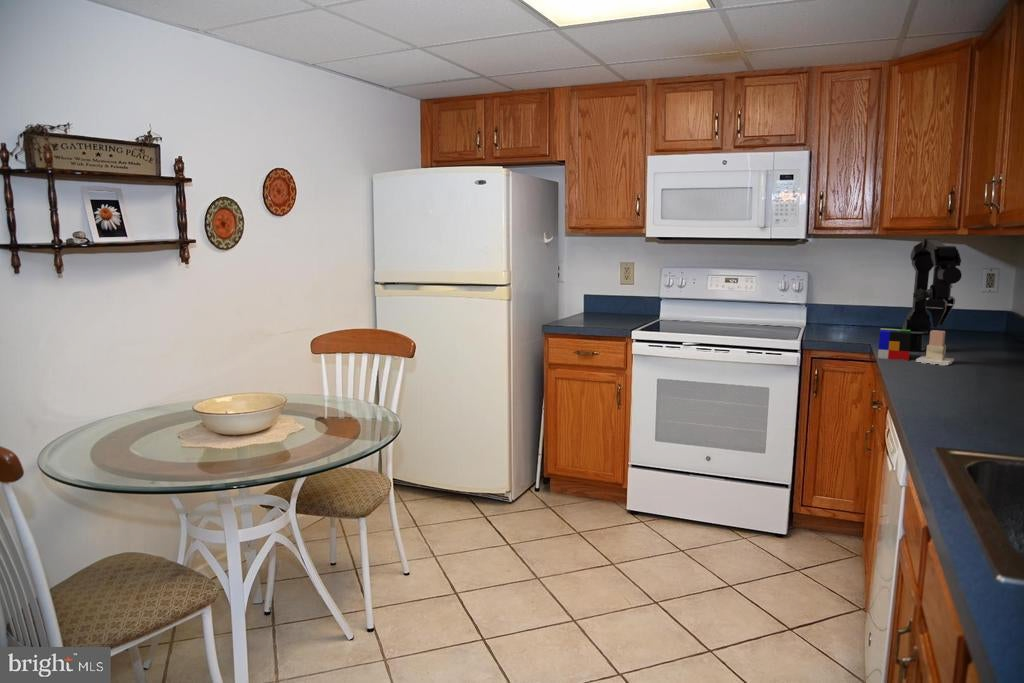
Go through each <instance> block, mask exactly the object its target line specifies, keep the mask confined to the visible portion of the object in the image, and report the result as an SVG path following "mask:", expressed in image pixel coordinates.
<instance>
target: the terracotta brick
mask: <svg viewBox="0 0 1024 683" xmlns="http://www.w3.org/2000/svg"><path fill="white" fill-rule="evenodd" d="M945 340H946V330H937V329H935V330H934V329H932V330H930V333H929V343H928V344H929V345H933V346H943V345H945Z"/></svg>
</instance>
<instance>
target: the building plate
mask: <svg viewBox="0 0 1024 683" xmlns="http://www.w3.org/2000/svg"><path fill="white" fill-rule="evenodd" d="M953 361H954V362H955V358H951V357H945V359H944V360H942V361H940V360H931V359H926V355H921V356H919V357H917V358H916V359H915V363H916V362H921V363H920V364H926V363H930V364H929V365H935V364H939V365H938V366H945V365H949V364H950V365H951V364H953V363H954V362H953ZM952 362H953V363H952ZM950 365H949V366H950Z"/></svg>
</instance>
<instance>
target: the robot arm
mask: <svg viewBox="0 0 1024 683" xmlns="http://www.w3.org/2000/svg"><path fill="white" fill-rule="evenodd" d="M910 261H911V266H912V267H913V269H914V271H915V276H914V287H913V293H912V294H913V296H912V306H911V309H910V311H909V312H908V313H907V314H906V318H905V319H904V322H903V325H902V328H901V330H911V339H910V350H909V352H910V351H911V352H923V351H924V350H925V349H926V348H924V347H923V346H924V336H927V337H928V336H929V337H930V331H931V327H932V326H933V328H938V326H943V325H944V324H945V321H946V320H947V318H948V316H949V314H950V313H951V311H952V309H953V308H954V305H955V304H956V298H955V296H951V294H952V293H951V292H952V289H953V284H956V283H958V282H959V281H961V279H962V271H961V269H959V268H958V267H960V266H961V263H962V259H961V255H960V252H959V250H958V249H957V246H956V245H945V243H943V242H942V241H940V239H939V238H936V237H934V238H933V237H929V238H928V237H924V238H922V239H921V242H919V243H917V244H916V245H914V246H913V248H912V250H911V252H910ZM932 269H933V274H932V275H933V276H932V284H931V285H930V286H929V276H930V271H931V270H932ZM928 288H929V289H928ZM928 311H929V313H930V314H929V313H928ZM930 317H931V318H930ZM930 319H931V320H930ZM931 321H932V322H931ZM925 351H926V350H925Z"/></svg>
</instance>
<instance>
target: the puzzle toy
mask: <svg viewBox="0 0 1024 683" xmlns="http://www.w3.org/2000/svg"><path fill="white" fill-rule="evenodd" d="M911 332H912V331H911V330H902V328H901V329H899V328H881V327H880V329H879V337H878V338H879V339H878V351H877V358H878V359H883V360H886V359H887V360H896V359H904V360H903V361H909V360H910V339H911Z"/></svg>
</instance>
